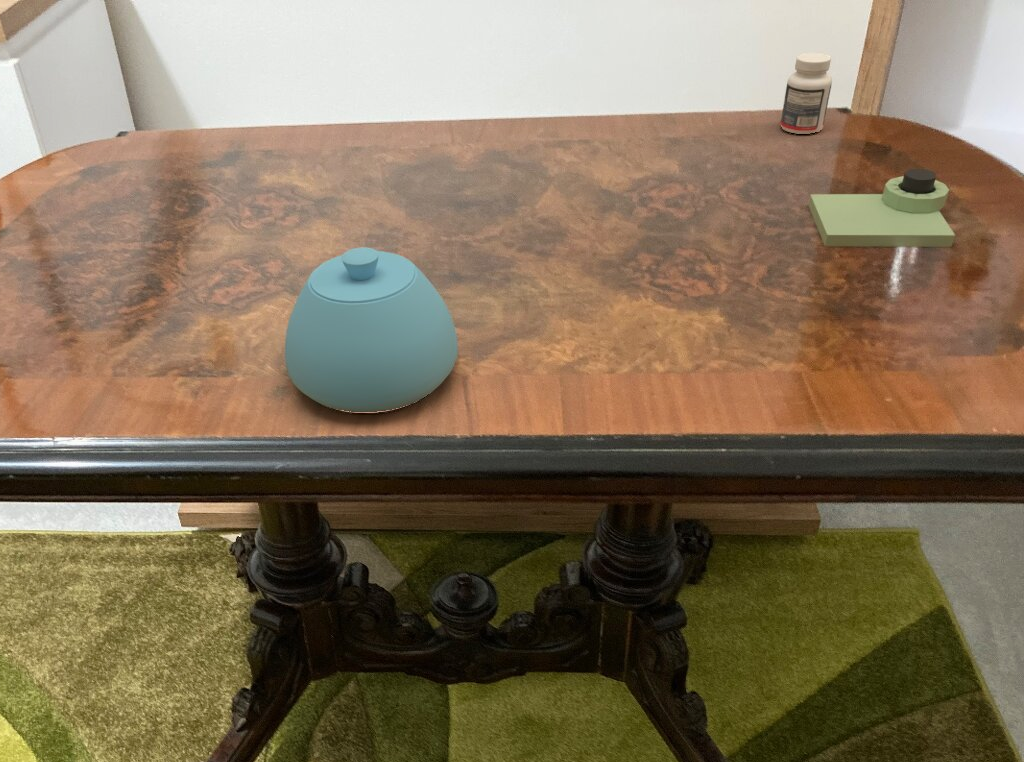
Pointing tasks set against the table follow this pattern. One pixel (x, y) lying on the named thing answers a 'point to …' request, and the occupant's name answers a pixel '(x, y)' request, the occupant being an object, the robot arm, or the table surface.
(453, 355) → the sugar bowl
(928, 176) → the button
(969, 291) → the table surface
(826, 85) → the pill bottle
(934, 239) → the scale
